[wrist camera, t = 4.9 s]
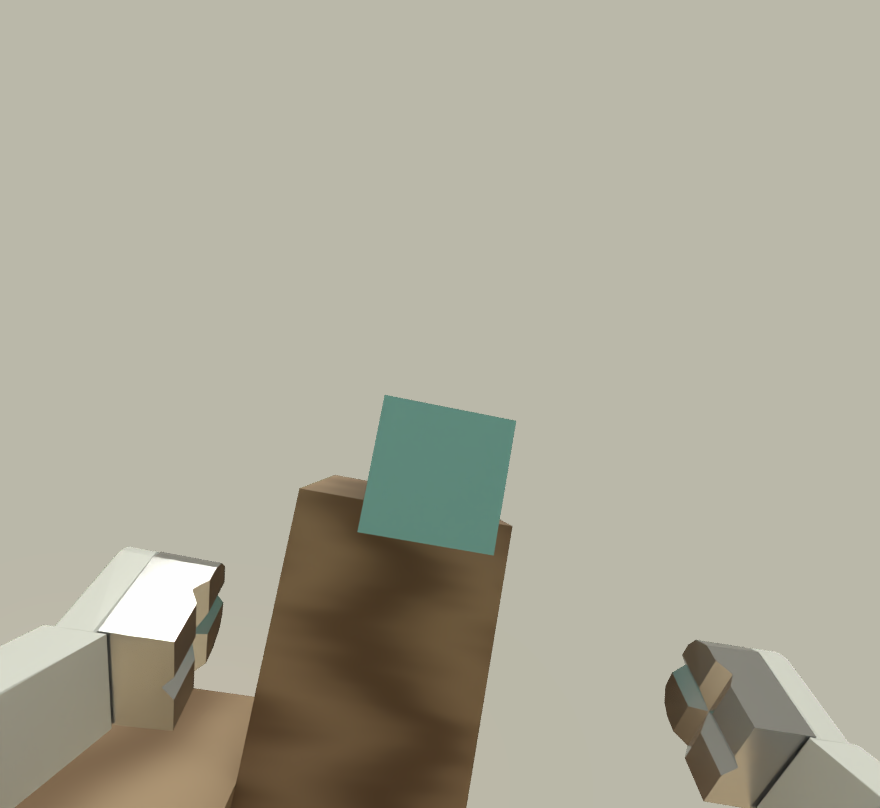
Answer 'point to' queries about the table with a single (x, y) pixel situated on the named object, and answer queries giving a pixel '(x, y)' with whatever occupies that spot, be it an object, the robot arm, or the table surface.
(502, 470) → the teal block
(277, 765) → the walnut stand
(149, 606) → the robot arm
